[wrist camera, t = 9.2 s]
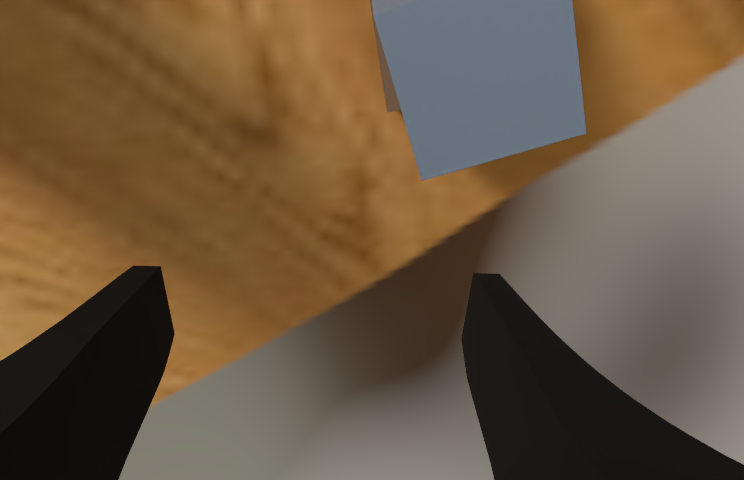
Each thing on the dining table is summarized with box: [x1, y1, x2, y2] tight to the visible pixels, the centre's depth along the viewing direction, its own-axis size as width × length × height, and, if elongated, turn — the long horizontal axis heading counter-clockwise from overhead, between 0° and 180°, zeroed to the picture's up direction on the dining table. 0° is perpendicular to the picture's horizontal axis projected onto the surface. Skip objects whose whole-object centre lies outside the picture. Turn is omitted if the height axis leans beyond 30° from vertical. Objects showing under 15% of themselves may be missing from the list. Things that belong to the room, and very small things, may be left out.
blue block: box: [372, 0, 587, 181], centre depth 14 cm, size 4×4×4 cm
